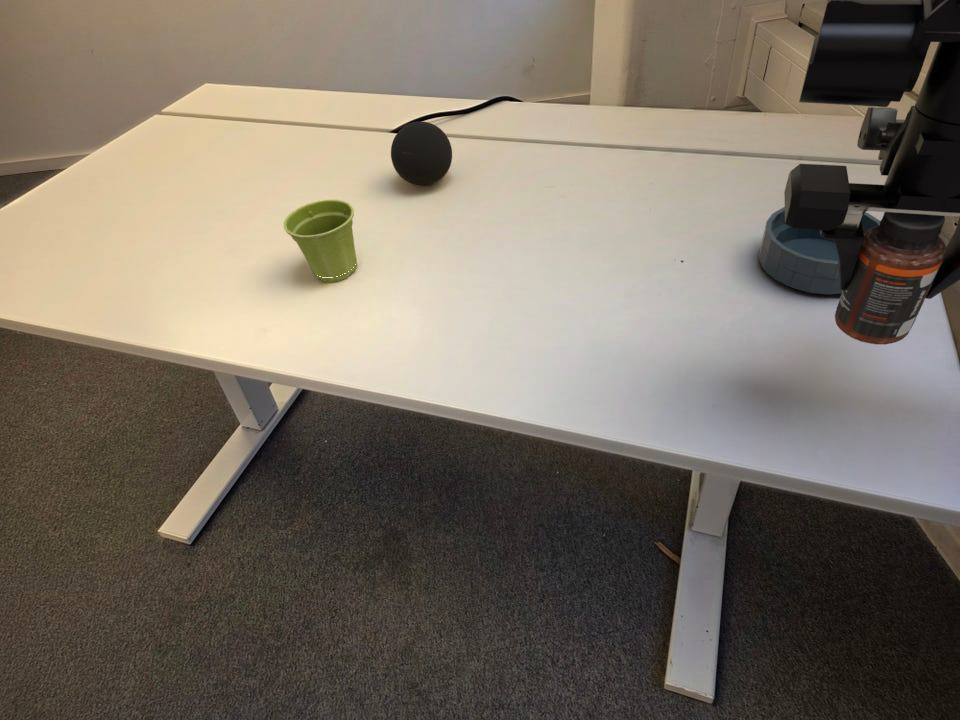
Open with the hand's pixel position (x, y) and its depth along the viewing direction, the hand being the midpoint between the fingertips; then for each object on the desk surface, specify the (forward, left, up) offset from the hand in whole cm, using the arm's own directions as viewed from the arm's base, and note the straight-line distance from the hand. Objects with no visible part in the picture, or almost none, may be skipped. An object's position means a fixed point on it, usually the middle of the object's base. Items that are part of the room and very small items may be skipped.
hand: (883, 291), depth 52 cm
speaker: (+61, -35, -13) cm, 71 cm away
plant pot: (+64, -9, -13) cm, 66 cm away
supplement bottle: (0, 0, -4) cm, 4 cm away
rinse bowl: (+2, -22, -13) cm, 25 cm away
